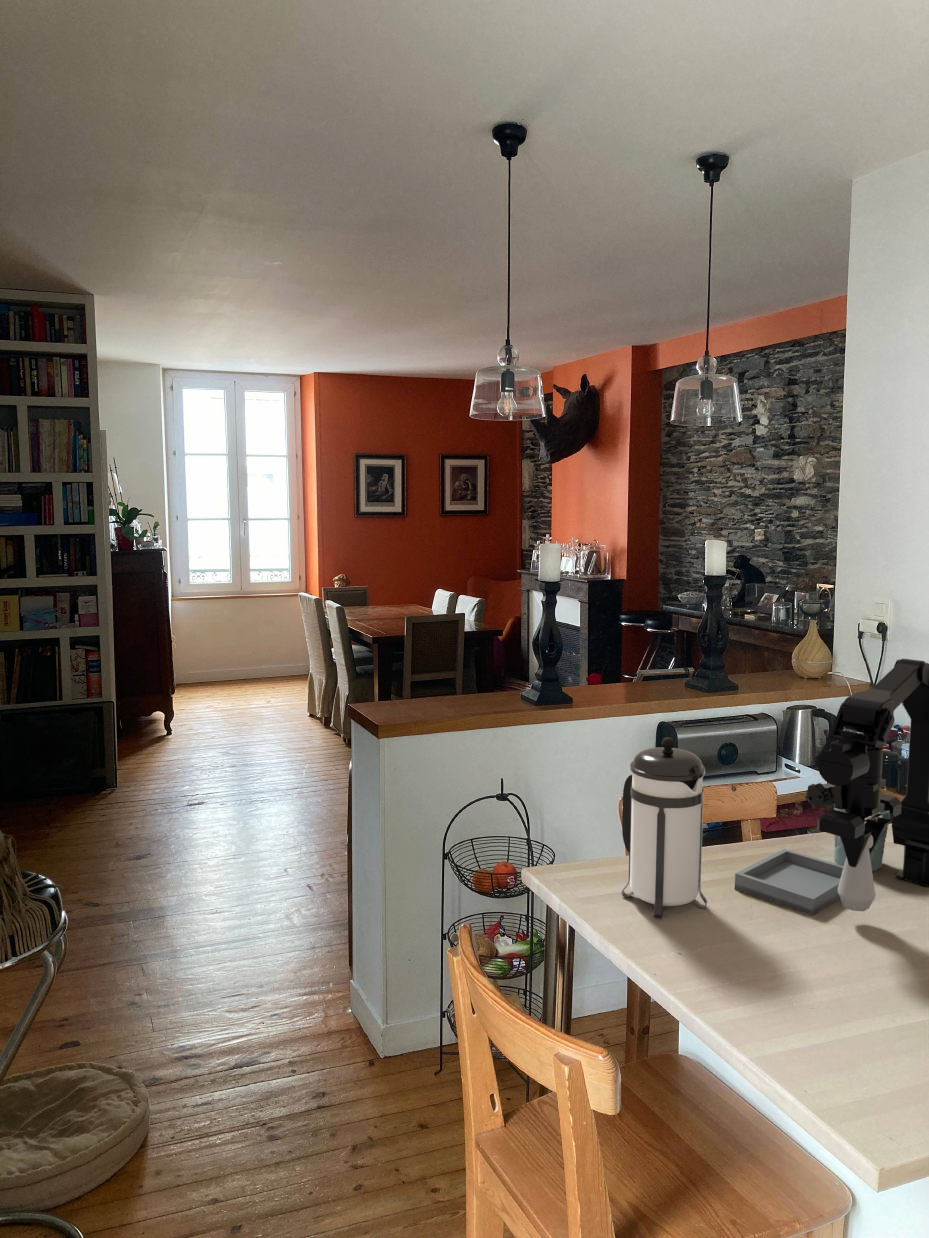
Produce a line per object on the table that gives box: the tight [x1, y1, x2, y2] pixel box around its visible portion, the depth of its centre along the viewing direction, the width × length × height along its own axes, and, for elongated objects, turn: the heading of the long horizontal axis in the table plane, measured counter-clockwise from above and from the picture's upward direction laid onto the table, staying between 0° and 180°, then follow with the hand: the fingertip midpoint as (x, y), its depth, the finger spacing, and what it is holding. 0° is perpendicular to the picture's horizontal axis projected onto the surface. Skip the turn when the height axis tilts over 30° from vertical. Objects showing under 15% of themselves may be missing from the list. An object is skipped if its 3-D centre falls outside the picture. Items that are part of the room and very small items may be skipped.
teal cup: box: [833, 804, 891, 872], centre depth 179 cm, size 10×10×12 cm
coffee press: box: [621, 736, 708, 919], centre depth 162 cm, size 17×16×30 cm
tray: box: [734, 848, 844, 916], centre depth 168 cm, size 18×15×3 cm
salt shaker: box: [838, 834, 876, 912], centre depth 153 cm, size 6×6×13 cm
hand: (857, 863), depth 153 cm, fingers closed on salt shaker, 4 cm apart
